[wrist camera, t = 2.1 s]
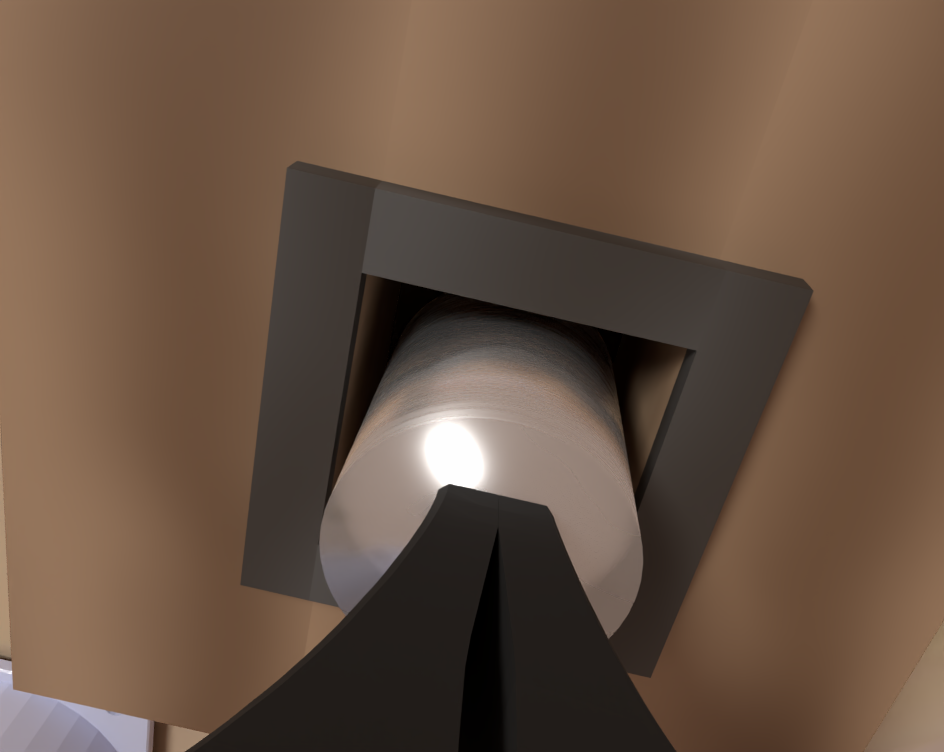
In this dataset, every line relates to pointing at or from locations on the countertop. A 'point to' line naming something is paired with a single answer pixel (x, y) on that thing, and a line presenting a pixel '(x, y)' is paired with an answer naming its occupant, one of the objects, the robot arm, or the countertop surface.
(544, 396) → the steel peg
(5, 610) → the countertop surface
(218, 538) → the walnut block
